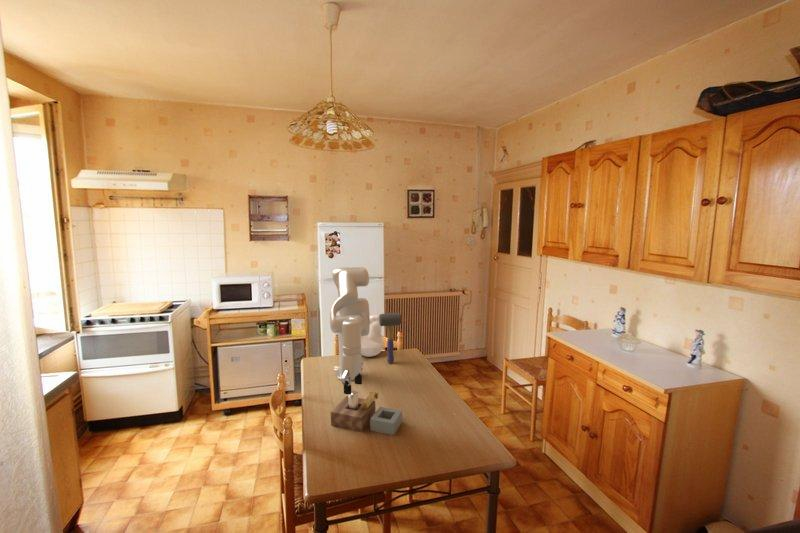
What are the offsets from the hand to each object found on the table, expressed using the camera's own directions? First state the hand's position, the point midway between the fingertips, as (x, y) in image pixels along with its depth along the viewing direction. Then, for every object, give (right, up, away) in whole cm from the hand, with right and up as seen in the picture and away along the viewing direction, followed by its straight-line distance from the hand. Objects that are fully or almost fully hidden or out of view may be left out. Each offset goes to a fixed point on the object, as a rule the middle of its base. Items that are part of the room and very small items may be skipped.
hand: (353, 388), depth 153 cm
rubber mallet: (+14, -6, +62) cm, 63 cm away
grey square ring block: (+14, -15, -3) cm, 20 cm away
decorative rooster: (-3, -4, +74) cm, 74 cm away
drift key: (+7, -7, +4) cm, 11 cm away
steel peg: (0, -14, +2) cm, 14 cm away
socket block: (0, -14, +2) cm, 14 cm away
